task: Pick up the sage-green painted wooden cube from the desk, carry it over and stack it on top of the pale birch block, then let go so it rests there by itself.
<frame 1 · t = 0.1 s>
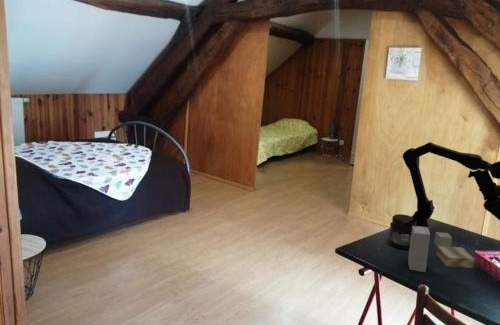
supplement container: (400, 245, 169), on the table
skincare box: (415, 266, 151), on the table
birch block: (453, 261, 157), on the table
sage cube: (442, 245, 170), on the table
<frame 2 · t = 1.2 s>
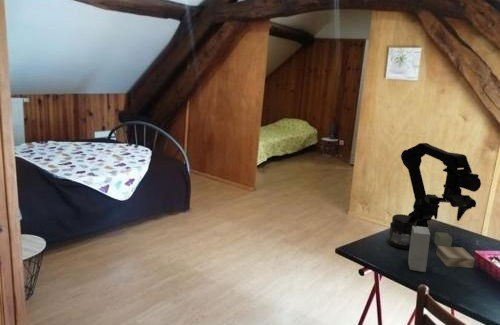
hand: (446, 219, 168), 12 cm above the table, tool pointing down, fingers open, 9 cm apart
nothing on the table moved.
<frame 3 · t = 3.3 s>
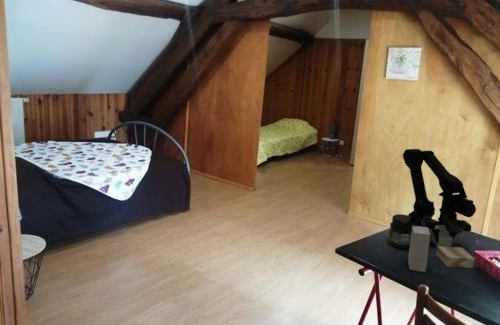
hand: (442, 243, 170), 1 cm above the table, tool pointing down, fingers closed on sage cube, 5 cm apart
sage cube: (442, 245, 170), on the table, touching gripper
everything else where it was.
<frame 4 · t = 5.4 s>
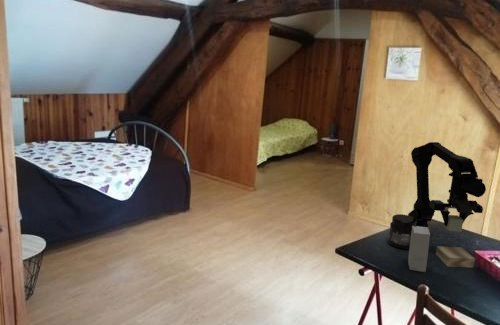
hand: (452, 226, 161), 11 cm above the table, tool pointing down, fingers closed on sage cube, 5 cm apart
sage cube: (452, 228, 162), point 10 cm above the table, touching gripper
everything else where it was.
when the fingers open (6 cm above the table, at t = 7.6 s): sage cube drops 2 cm, point 4 cm above the table.
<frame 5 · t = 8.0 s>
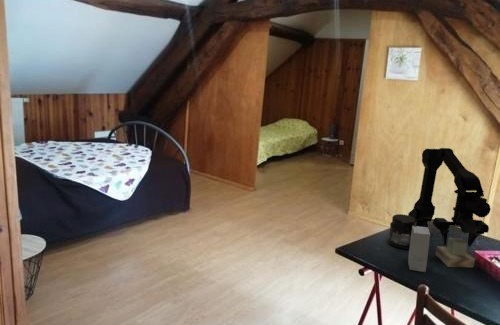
hand: (456, 245, 155), 6 cm above the table, tool pointing down, fingers open, 9 cm apart
sage cube: (455, 252, 156), point 4 cm above the table
everything else where it was.
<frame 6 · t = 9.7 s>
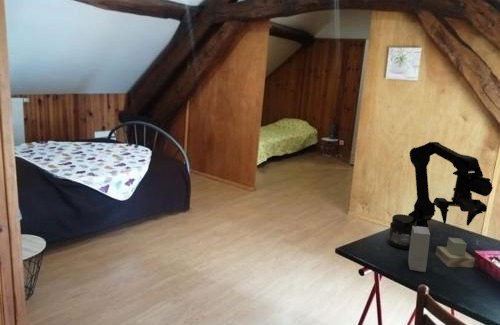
hand: (455, 224, 163), 12 cm above the table, tool pointing down, fingers open, 9 cm apart
birch block: (453, 261, 157), on the table, touching sage cube
sage cube: (455, 252, 156), point 4 cm above the table, touching birch block
everything else where it was.
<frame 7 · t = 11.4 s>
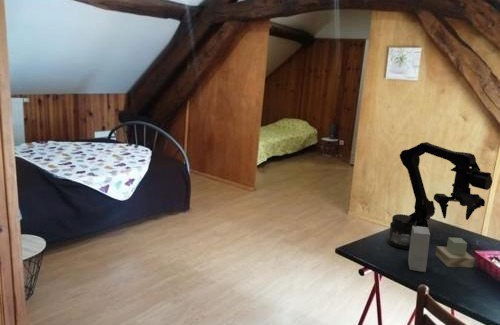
hand: (455, 219, 168), 12 cm above the table, tool pointing down, fingers open, 9 cm apart
birch block: (453, 261, 157), on the table
sage cube: (455, 252, 156), point 4 cm above the table
everything else where it was.
at the end: sage cube 0.3 cm off-centre on the birch block, point 4.0 cm above the birch block's base; sage cube tilted 0°; the gripper is holding nothing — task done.
